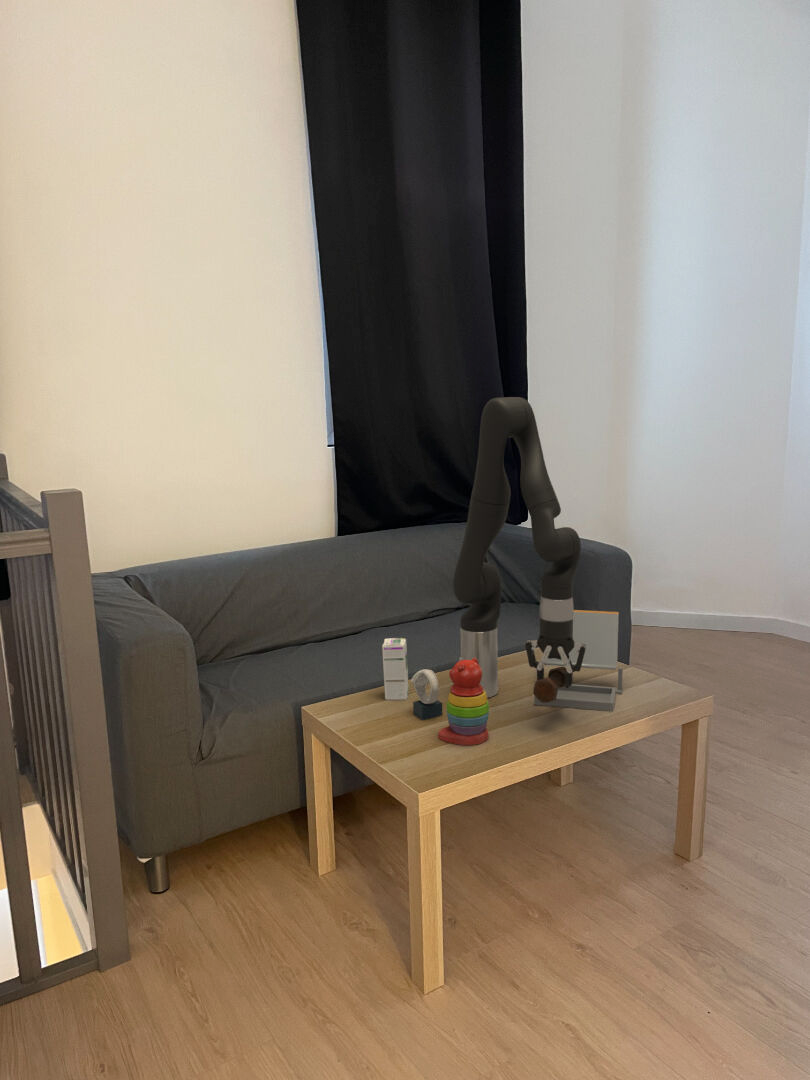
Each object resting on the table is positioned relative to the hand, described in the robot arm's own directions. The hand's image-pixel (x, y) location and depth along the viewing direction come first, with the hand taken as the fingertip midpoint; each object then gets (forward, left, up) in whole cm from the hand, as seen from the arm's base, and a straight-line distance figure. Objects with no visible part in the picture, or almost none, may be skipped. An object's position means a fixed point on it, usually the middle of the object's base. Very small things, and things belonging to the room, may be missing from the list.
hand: (554, 685), depth 191 cm
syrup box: (-41, +6, -8) cm, 42 cm away
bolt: (+1, -1, -1) cm, 2 cm away
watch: (-30, -4, -8) cm, 31 cm away
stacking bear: (-18, -14, -8) cm, 24 cm away
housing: (+3, +15, -8) cm, 17 cm away
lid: (+3, +23, +4) cm, 24 cm away
